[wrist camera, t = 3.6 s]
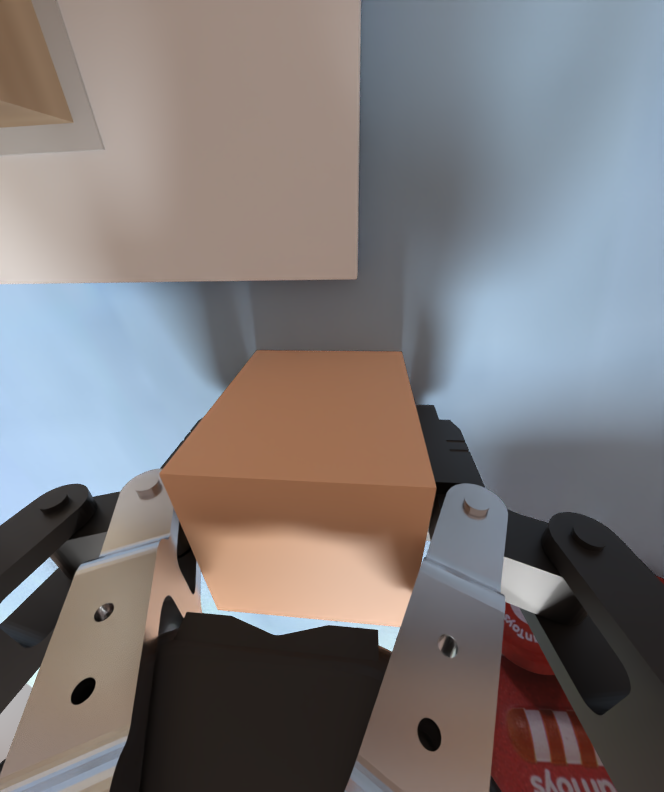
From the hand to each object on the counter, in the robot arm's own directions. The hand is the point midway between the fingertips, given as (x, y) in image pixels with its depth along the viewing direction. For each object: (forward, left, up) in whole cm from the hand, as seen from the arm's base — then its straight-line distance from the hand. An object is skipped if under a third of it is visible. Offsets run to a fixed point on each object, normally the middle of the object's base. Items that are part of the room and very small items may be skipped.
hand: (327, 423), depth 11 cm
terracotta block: (0, 0, -1) cm, 1 cm away
